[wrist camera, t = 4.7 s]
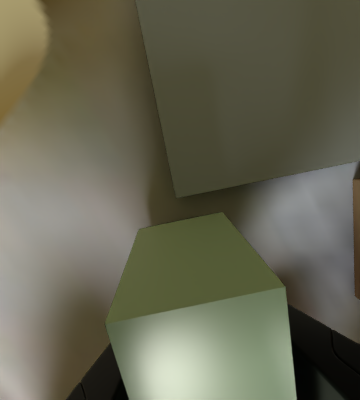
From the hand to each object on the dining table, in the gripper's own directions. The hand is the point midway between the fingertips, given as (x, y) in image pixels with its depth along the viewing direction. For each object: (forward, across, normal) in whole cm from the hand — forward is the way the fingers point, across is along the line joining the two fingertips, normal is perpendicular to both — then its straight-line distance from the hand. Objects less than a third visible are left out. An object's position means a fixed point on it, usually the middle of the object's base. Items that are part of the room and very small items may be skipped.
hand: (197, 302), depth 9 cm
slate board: (+2, -5, -9) cm, 10 cm away
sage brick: (+1, 0, 0) cm, 1 cm away
